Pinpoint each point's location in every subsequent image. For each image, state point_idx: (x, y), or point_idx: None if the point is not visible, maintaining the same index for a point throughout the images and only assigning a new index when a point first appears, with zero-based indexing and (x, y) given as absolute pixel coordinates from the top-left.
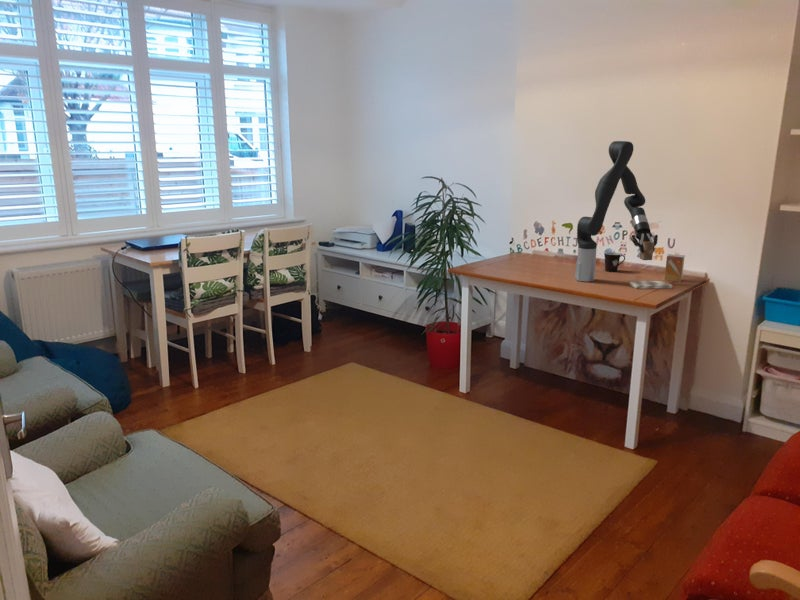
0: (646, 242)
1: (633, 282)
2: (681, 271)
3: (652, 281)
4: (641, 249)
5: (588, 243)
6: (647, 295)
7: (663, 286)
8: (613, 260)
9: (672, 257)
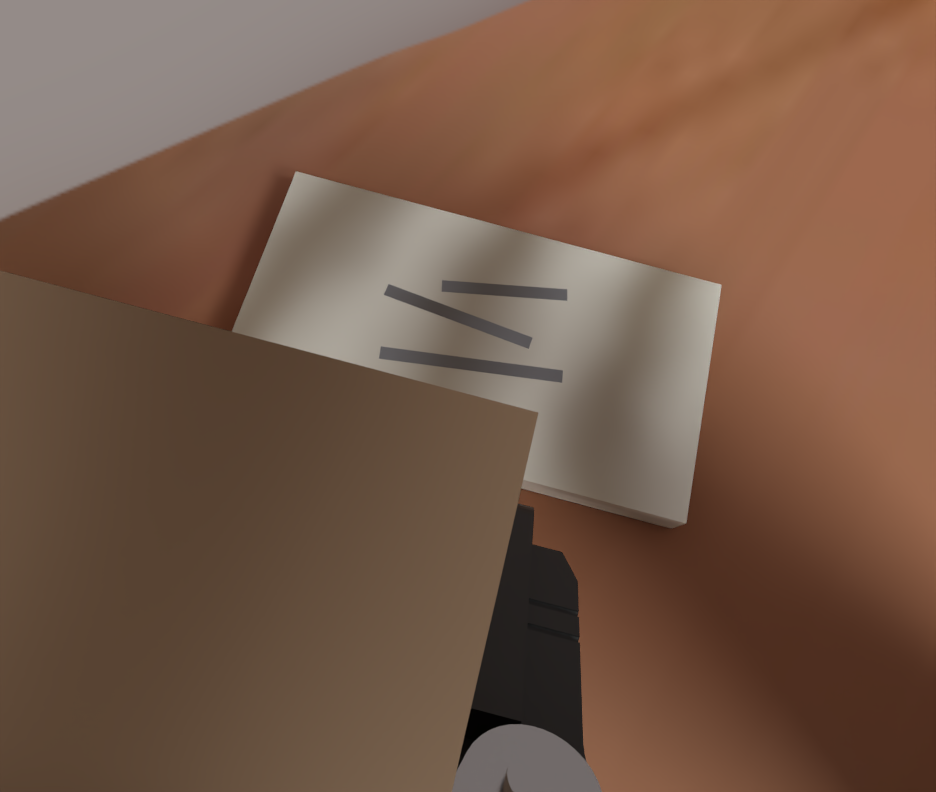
0: (360, 502)
1: (661, 442)
2: None
3: None
4: (562, 584)
5: None
6: (739, 57)
7: (399, 205)
8: None
9: None
